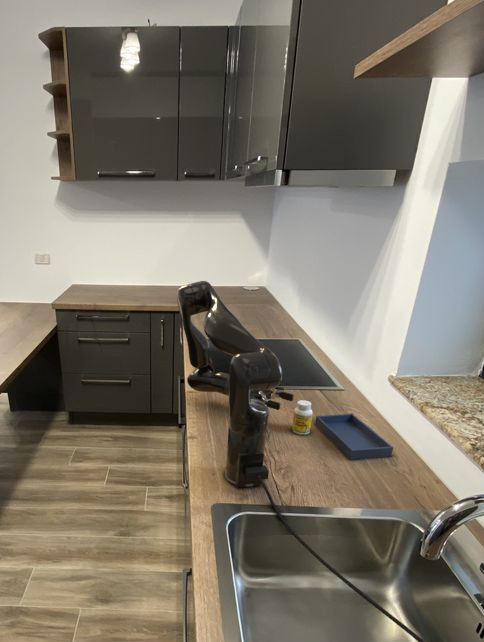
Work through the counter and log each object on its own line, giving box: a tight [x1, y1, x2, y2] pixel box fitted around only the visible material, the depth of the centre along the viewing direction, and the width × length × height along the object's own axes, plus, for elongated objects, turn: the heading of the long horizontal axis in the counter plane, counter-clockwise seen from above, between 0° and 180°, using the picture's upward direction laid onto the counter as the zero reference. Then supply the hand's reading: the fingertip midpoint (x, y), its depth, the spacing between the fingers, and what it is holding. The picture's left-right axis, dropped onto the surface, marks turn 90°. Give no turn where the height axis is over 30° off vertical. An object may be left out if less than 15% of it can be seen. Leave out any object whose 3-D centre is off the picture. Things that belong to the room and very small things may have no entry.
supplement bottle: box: [291, 399, 314, 436], centre depth 134 cm, size 5×5×10 cm
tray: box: [314, 413, 394, 461], centre depth 131 cm, size 21×12×3 cm, turn 9°
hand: (286, 402), depth 136 cm, fingers open, 8 cm apart
